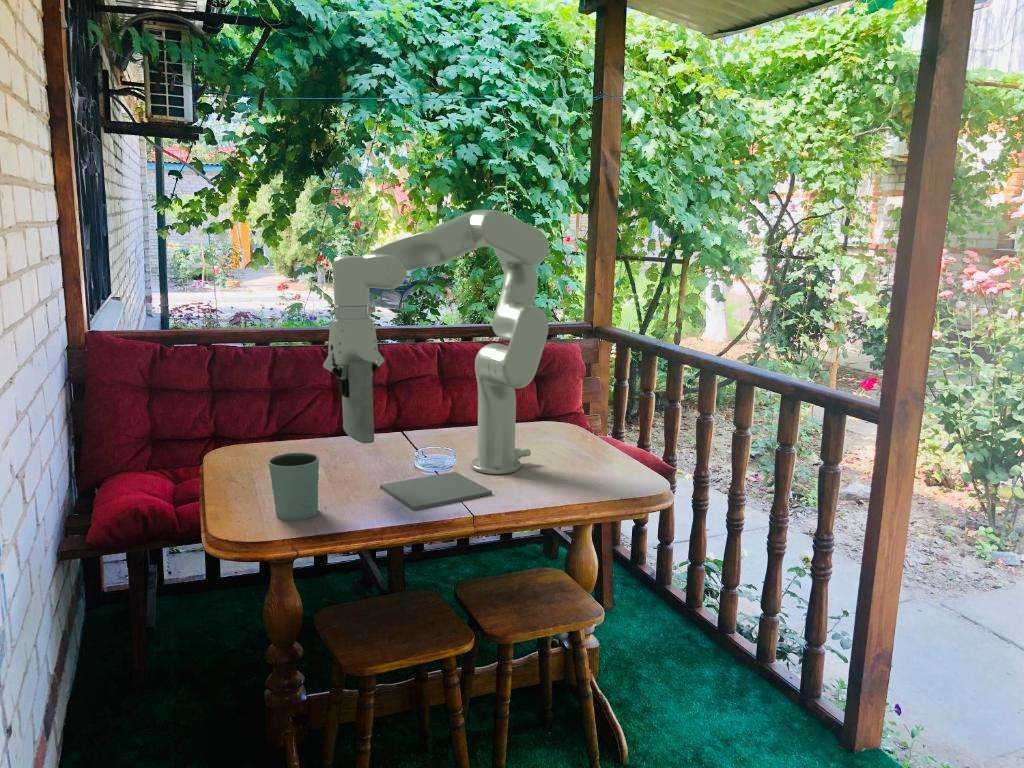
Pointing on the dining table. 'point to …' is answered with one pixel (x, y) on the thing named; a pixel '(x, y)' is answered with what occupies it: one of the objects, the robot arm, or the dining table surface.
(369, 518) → the dining table surface
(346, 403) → the hip flask
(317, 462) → the green cup
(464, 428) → the dining table surface
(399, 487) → the rubber mat
